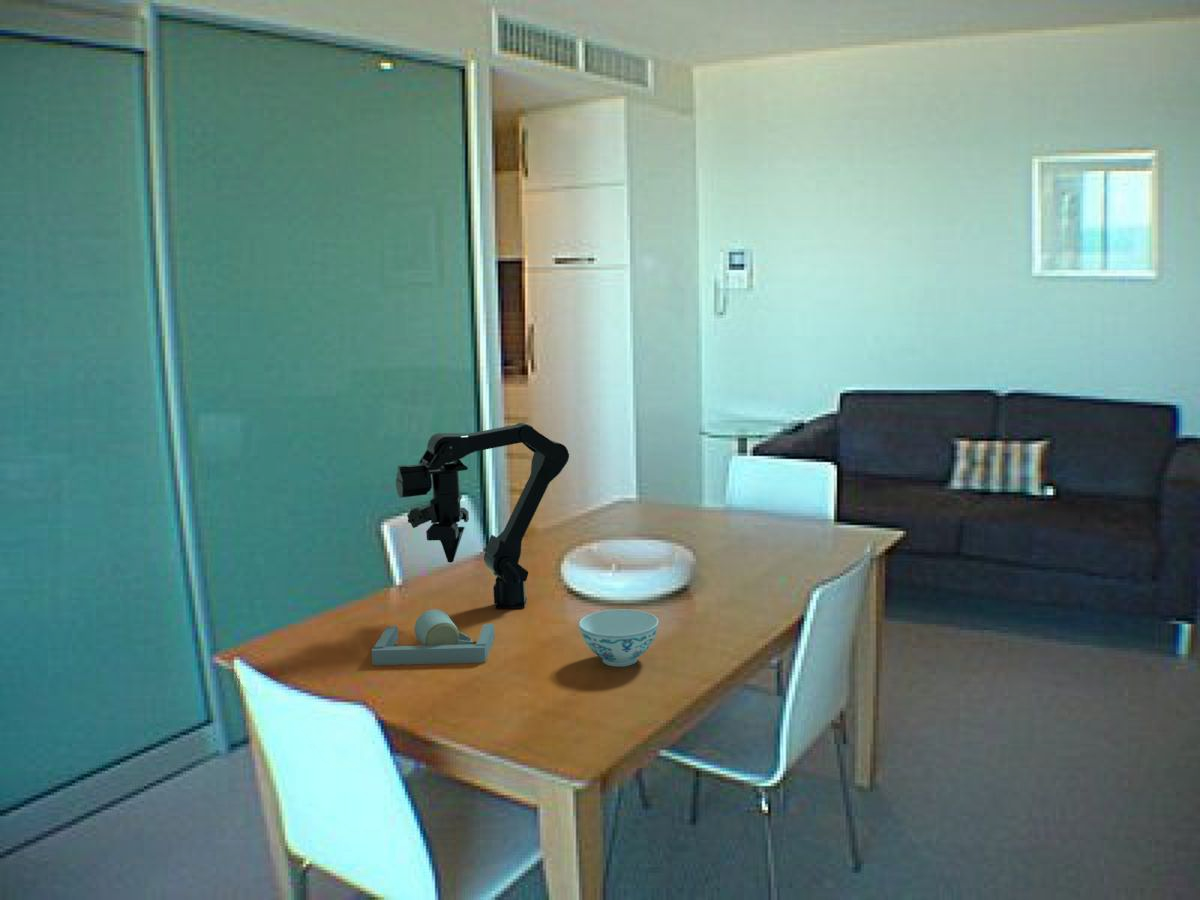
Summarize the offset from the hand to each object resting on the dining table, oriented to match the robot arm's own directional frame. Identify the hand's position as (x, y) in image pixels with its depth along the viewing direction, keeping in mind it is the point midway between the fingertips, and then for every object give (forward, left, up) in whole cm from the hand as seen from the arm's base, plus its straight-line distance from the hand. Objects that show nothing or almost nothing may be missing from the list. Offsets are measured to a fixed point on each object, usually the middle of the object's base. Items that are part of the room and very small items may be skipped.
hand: (450, 562), depth 236 cm
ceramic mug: (-2, +22, -12) cm, 25 cm away
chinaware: (-37, +30, -12) cm, 49 cm away
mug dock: (0, +22, -12) cm, 25 cm away
